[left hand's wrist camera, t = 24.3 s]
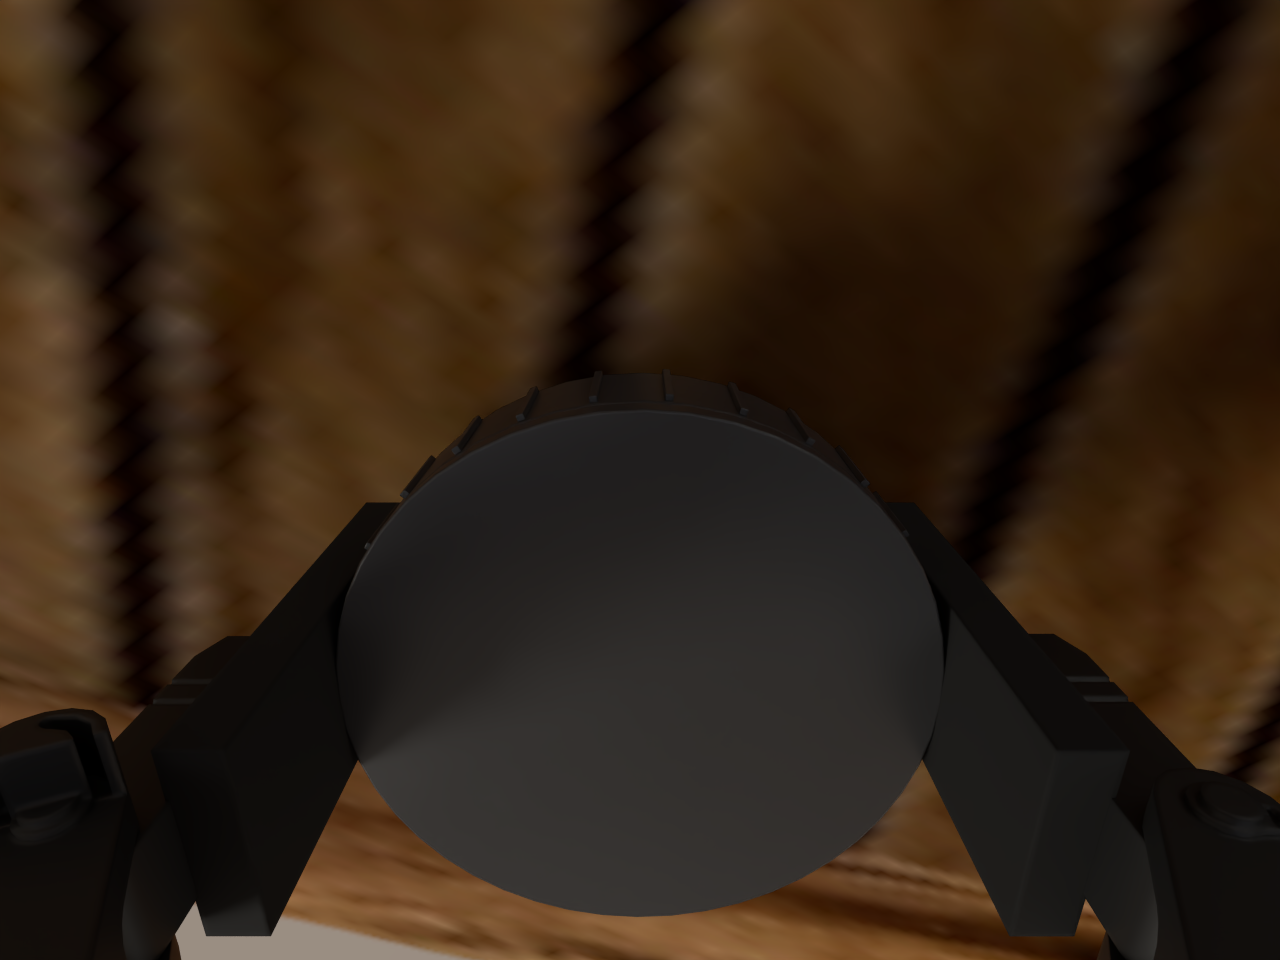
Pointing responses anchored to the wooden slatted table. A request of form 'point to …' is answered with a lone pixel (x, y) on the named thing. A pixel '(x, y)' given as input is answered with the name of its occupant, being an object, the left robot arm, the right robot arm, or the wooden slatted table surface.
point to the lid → (640, 649)
